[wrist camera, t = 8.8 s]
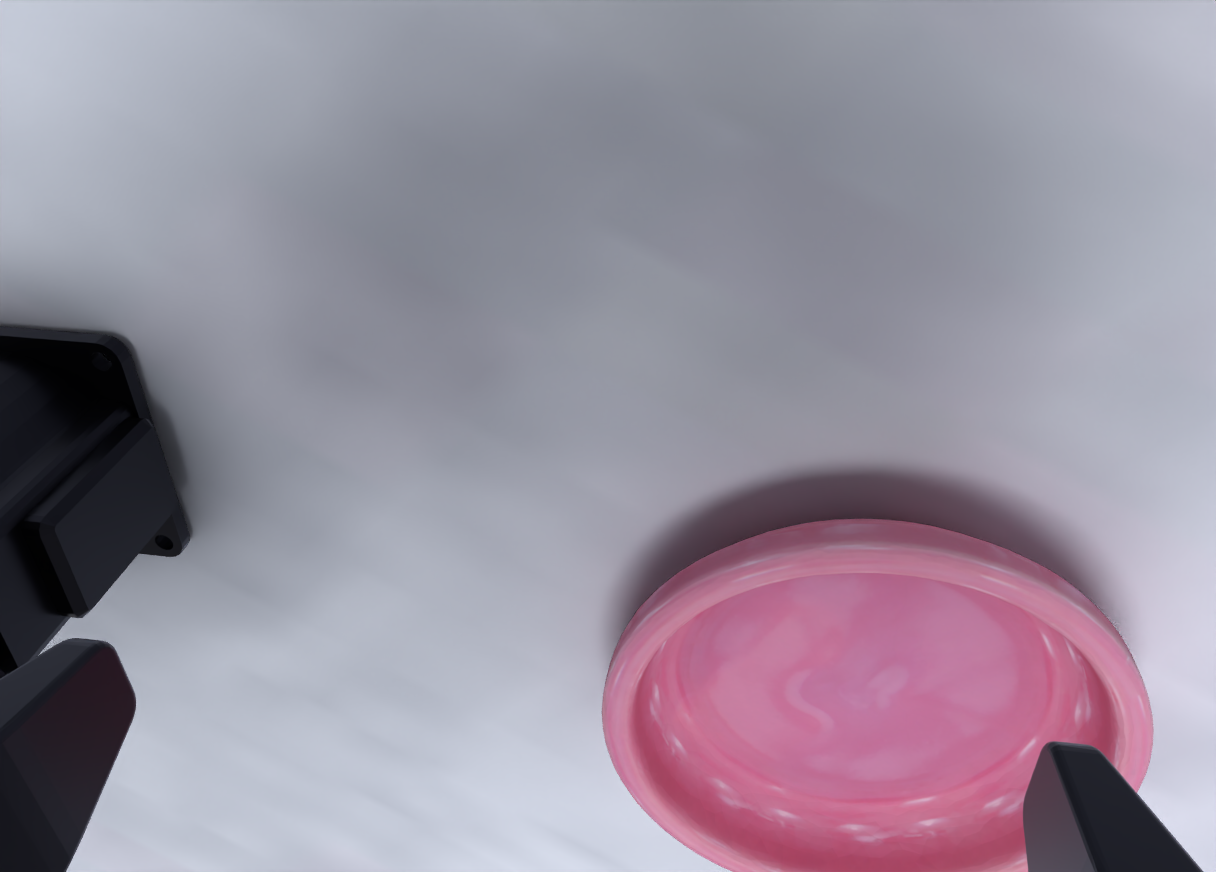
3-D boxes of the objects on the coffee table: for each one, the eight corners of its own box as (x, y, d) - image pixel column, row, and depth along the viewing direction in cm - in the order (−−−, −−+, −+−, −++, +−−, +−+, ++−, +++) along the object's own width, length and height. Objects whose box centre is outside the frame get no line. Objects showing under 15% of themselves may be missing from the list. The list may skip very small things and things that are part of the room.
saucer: (558, 502, 24) (530, 591, 21) (1112, 423, 20) (1159, 518, 18) (682, 813, 30) (672, 911, 27) (1120, 795, 26) (1156, 905, 24)
